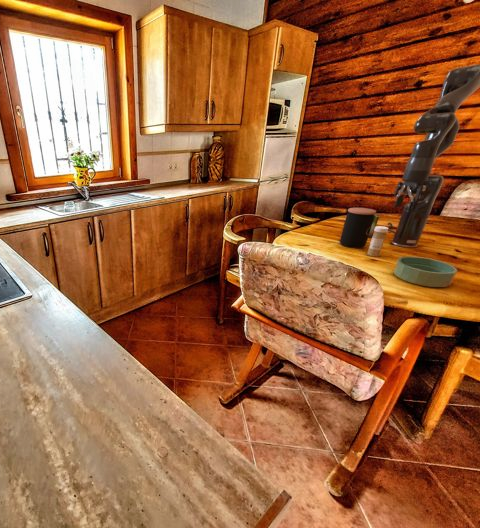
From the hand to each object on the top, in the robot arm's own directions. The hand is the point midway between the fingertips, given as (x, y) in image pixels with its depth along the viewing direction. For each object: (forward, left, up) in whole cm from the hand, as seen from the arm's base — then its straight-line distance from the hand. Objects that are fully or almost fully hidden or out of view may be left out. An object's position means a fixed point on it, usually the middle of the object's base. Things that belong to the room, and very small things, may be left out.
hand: (403, 208), depth 118 cm
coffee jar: (-11, -12, -22) cm, 27 cm away
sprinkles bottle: (+1, -6, -22) cm, 23 cm away
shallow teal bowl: (+23, +4, -22) cm, 32 cm away
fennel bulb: (-29, -2, -22) cm, 36 cm away
